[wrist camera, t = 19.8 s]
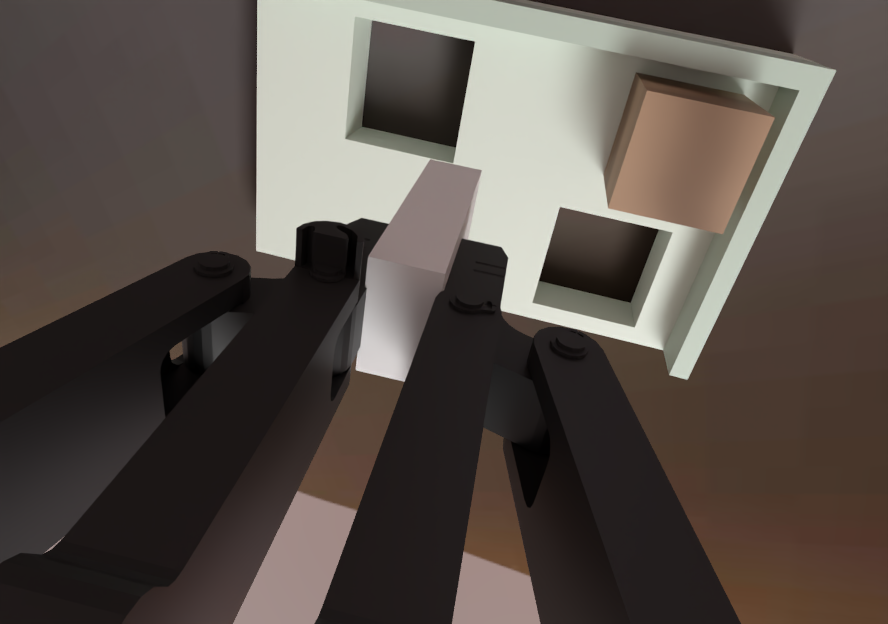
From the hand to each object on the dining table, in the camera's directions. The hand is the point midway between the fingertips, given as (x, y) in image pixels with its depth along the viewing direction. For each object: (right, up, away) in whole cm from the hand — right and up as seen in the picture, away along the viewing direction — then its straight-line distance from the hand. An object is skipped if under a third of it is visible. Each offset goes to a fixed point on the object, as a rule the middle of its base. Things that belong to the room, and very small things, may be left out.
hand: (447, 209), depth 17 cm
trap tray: (+3, +5, +17) cm, 18 cm away
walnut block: (+11, +6, +12) cm, 17 cm away
